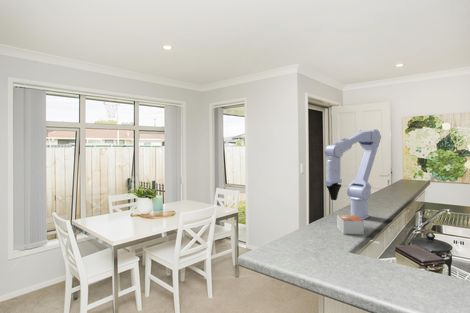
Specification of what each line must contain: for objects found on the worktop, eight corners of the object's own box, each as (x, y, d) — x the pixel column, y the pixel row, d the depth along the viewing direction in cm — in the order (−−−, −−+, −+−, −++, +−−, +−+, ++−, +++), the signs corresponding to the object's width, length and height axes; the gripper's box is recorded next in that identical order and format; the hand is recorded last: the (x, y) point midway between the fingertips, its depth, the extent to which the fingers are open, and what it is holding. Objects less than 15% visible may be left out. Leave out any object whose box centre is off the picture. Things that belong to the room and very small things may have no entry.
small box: (355, 214, 125) (364, 220, 114) (355, 227, 125) (364, 234, 114) (336, 214, 125) (343, 220, 115) (336, 227, 126) (343, 234, 115)
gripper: (331, 169, 141) (331, 196, 142) (318, 171, 130) (318, 201, 131) (346, 169, 137) (346, 198, 137) (334, 172, 126) (334, 203, 126)
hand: (333, 199), depth 134 cm, fingers closed
